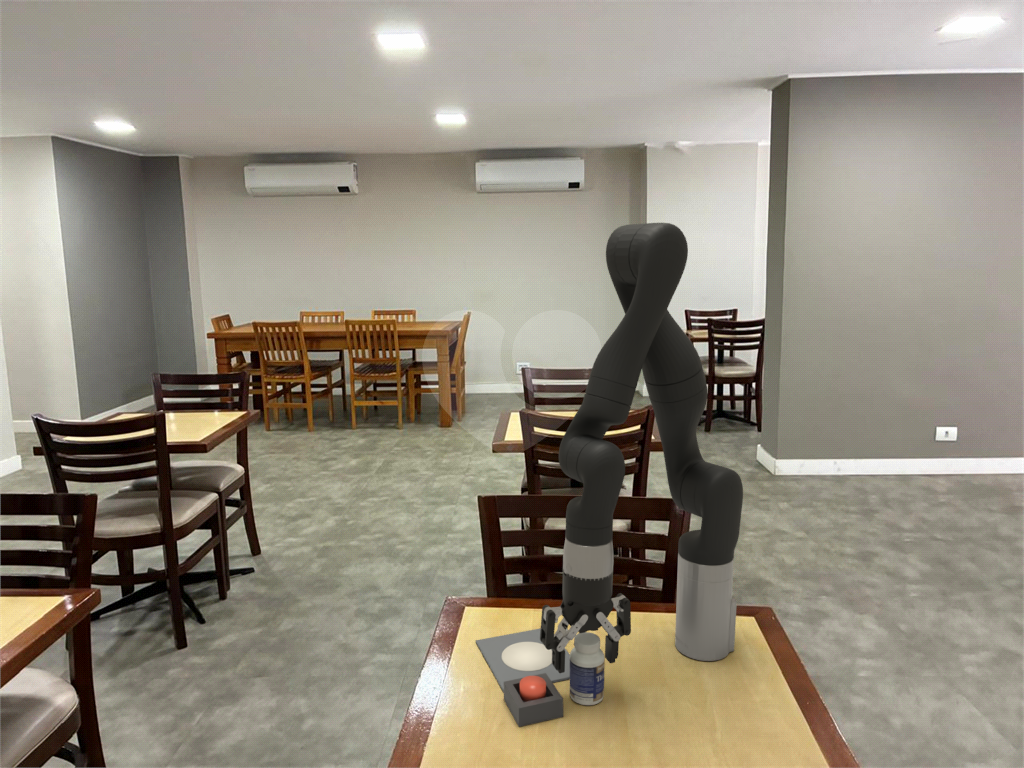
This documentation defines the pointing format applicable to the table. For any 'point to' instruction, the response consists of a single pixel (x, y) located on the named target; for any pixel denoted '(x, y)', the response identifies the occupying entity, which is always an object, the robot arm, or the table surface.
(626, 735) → the table surface
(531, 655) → the grey mat
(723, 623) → the robot arm
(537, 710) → the button housing
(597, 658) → the pill bottle
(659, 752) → the table surface
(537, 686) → the button
